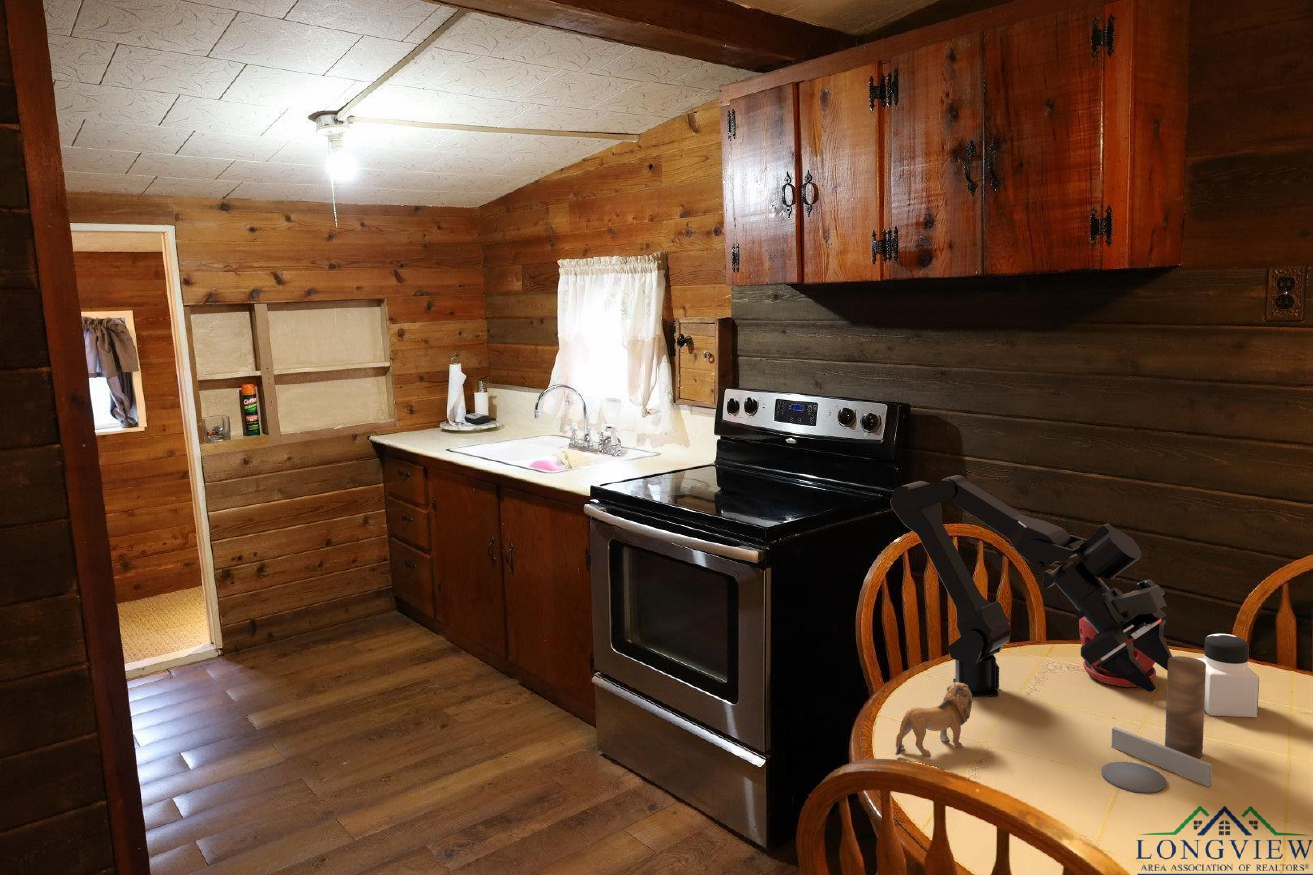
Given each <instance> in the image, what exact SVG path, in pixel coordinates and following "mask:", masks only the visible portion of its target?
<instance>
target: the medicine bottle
mask: <svg viewBox="0 0 1313 875" xmlns="http://www.w3.org/2000/svg"><path fill="white" fill-rule="evenodd" d="M1249 651H1250V645H1249V643H1248V641H1247V640H1246V639H1243V638H1241V637H1240V636H1236V635H1233V634H1227V633H1213V634H1210V635H1207V636H1206V637H1205V639H1204V651H1203V652H1204V654H1203V655H1204V656H1203V657H1202V658H1201V657H1200V658H1199V657H1194V658H1195V659H1198V660H1201V661H1203V662H1204V663H1205V664H1206V680H1205V705H1204V712H1205V713H1207V715H1208V716H1212V717H1228V718H1229V717H1232V718H1233V717H1234V718H1235V717H1236V718H1255V719H1256V718H1258V714H1259V691H1260V690H1259V689H1260V676H1259V675H1258V674H1257V673H1256V672H1255V671H1254V670H1252V669H1251V668H1250V667H1249V653H1250V652H1249Z"/></svg>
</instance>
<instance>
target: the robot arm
mask: <svg viewBox="0 0 1313 875" xmlns="http://www.w3.org/2000/svg"><path fill="white" fill-rule="evenodd" d="M946 501H948V502H950V503H952V504H954V505H955V506H957V507H958V508H960V509H961V510H963V511H965V512H966V513H968V514H969V515H971V516H972V517H973V518H975V519H977V520H979V521H980V522H981V523H983V524H985V525H986V526H988V527H989V528H991V529H992V530H993V531H996V532H997V533H999V534H1001V535H1002V536H1004V538H1006V539H1007V541H1009V542H1010V544H1011V546H1012V548H1013V549H1014V551H1015V552H1017V553H1018V555H1020V556H1021V557H1022V558H1024V559H1025V560H1026V561H1027V562H1028V563H1029V564H1031V565H1032V566H1034V567H1037V568H1045V567H1050V566H1052V565H1054V564H1056V563H1058V562H1063V563H1061V564H1060V565H1059V566H1057V567H1056V568H1055V569H1050V568H1049V569H1047V570H1045V571H1043V572H1042V576H1043V578H1042V584H1041V588H1042V589H1043V590H1047V589H1049V588H1050V587H1051V588H1052V587H1053V586H1055V585H1056V586H1057V587H1058V589H1060V590H1061V592H1062V593H1063V594H1064V595H1065V597H1066V598H1067V599H1068V600H1069V601H1070V602H1071V603H1072V605H1073V606H1074V607H1075V608H1076V609H1077V611H1078V612H1076V613H1075V614H1074V615H1075V616H1076V618H1078V620H1080V619H1081V618H1083V617H1085V619H1086V620H1087V621H1088V622H1089V623H1090V624H1091V626H1092V627H1093V628H1094V629H1095V630H1096V631H1097V633H1098V634H1096V635H1095V636H1094V637H1095V638H1093V639H1092V640H1091V641H1089V642H1088V643H1086V644H1085V645H1084V646H1082V645H1081V647H1080V657H1081V658H1082V660H1083V661H1084V660H1085V661H1086V663H1087V664H1088V665H1089V666H1090V665H1092V664H1093V663H1095V662H1096V661H1098V660H1099V659H1101V660H1102V662H1100V663H1099V664H1097V665H1096V667H1097V668H1102V669H1105V670H1107V671H1109V672H1111V673H1113V674H1115V675H1117V676H1119V677H1121V678H1123V679H1125V680H1127V681H1129V682H1131V683H1133V684H1135V685H1137V686H1136V687H1139V688H1141V689H1142V690H1144V691H1146V692H1148V693H1153V692H1154V691H1155V690H1156V689H1157V687H1156V686H1155V684H1154V682H1153V680H1152V681H1151V679H1150V678H1149V676H1148V675H1147V674H1146V672H1145V671H1144V669H1143V668H1142V667H1141V665H1140V664H1139V662H1138V661H1137V660H1136V658H1135V657H1134V655H1133V646H1134V647H1135V648H1136V649H1138V650H1139V651H1140V652H1142V653H1143V654H1145V655H1146V656H1147V657H1149V658H1150V659H1152V660H1153V661H1154V662H1155V663H1156V665H1158V666H1160V667H1161V668H1163V670H1166V671H1168V658H1170V657H1174V656H1173V655H1172V653H1171V650H1170V649H1169V647H1168V644H1167V642H1166V639H1165V637H1164V627H1165V624H1166V619H1163V618H1164V617H1166V616H1167V614H1166V613H1165V612H1164V611H1163V610H1162V609H1161V608H1165V607H1167V604H1166V601H1165V599H1164V595H1165V592H1166V591H1165V590H1164V589H1163V588H1161V587H1160V585H1159V584H1156V583H1155V582H1154V581H1153V580H1152V579H1151V578H1149V579H1146V580H1141V581H1139V582H1138V583H1137V584H1136V590H1133V591H1130V592H1127V593H1123V592H1122V591H1121V590H1120V589H1119V588H1118V587H1117V588H1116V587H1111V589H1110V587H1108V586H1107V585H1106V584H1105V582H1104V581H1103V580H1102V578H1104V579H1105V580H1106V579H1107V580H1113V579H1114V578H1115V577H1116V576H1118V575H1119V574H1120V573H1122V572H1123V571H1124V570H1126V569H1127V568H1128V567H1130V566H1131V565H1133V564H1134V563H1135V562H1137V561H1138V560H1140V559H1141V557H1142V551H1141V549H1140V546H1139V545H1138V544H1137V542H1135V540H1134V539H1133V538H1132V537H1131V536H1130V535H1129V536H1128V535H1127V534H1126V533H1124V532H1122V531H1121V530H1119V529H1116V528H1114V527H1113V526H1112V524H1110V523H1105V524H1103V525H1101V526H1100V527H1099V528H1098V529H1096V531H1095V532H1094V533H1093V535H1091V536H1089V537H1088V538H1087V539H1086V538H1083V537H1080V536H1075V535H1073V534H1070V533H1069V532H1068V531H1067V530H1066V529H1064V528H1062V527H1061V526H1058V525H1056V524H1053V523H1051V522H1048V521H1046V520H1043V519H1038V518H1035V517H1031V516H1027V515H1025V514H1023V513H1021V512H1019V511H1018V510H1016V509H1014V508H1013V507H1012V506H1009V505H1007V504H1006V503H1005V502H1003V501H1001V500H1000V499H998V498H996V497H994V496H993V495H991V494H989V493H988V492H986V491H985V490H983V489H981V488H980V487H978V486H976V485H975V484H973V483H972V482H970V481H969V480H968V479H967V478H966V477H964V476H963V475H957V474H956V475H952V476H947V477H944V478H943V479H941V480H939V481H936V482H932V483H930V482H926V481H923V480H919V481H915V482H911V483H907V484H903V485H900V486H898V487H896V488H895V489H894V490H893V491H892V493H891V498H890V506H891V508H892V510H893V512H894V513H895V515H897V517H898V519H899V520H900V521H901V522H902V524H903V525H905V526H906V527H907V528H908V529H910V530H911V531H913V533H915V534H916V535H917V537H918V539H919V541H920V543H921V544H922V547H923V548H924V550H925V552H926V554H927V556H928V558H929V559H930V561H931V564H932V565H933V566H934V569H935V571H936V573H937V574H938V576H939V578H940V580H941V582H942V583H943V585H944V587H945V589H946V592H947V593H948V596H949V597H950V599H951V601H952V602H953V605H954V607H955V611H956V612H955V613H956V627H957V631H958V632H959V635H960V637H959V638H957V639H956V640H954V641H953V642H952V643H951V644H949V645H948V647H947V649H948V652H949V655H950V659H952V660H955V678H953V679H952V682H953V683H955V682H959V683H964V684H966V685H968V688H969V690H970V691H971V693H972V697H974V696H977V697H978V696H980V697H982V696H983V697H998V696H999V691H998V690H999V689H1000V666H999V664H998V663H997V658H996V656H995V655H996V654H998V653H1000V652H1001V650H1002V647H1003V646H1004V645H1006V644H1007V643H1008V642H1009V640H1010V637H1011V634H1012V629H1011V626H1010V623H1011V619H1010V618H1009V617H1008V616H1007V615H1006V613H1005V612H1004V608H1003V607H1002V604H1001V603H1000V602H999V600H996V601H994V602H992V603H991V602H990V601H989V600H987V599H986V598H985V597H984V596H983V595H982V594H981V592H980V590H979V588H978V586H977V585H976V583H975V580H974V579H973V577H972V576H971V572H970V571H969V568H968V567H967V565H966V564H965V562H964V561H963V557H961V555H960V553H959V551H958V549H957V547H956V545H955V544H954V541H953V540H952V538H951V536H950V534H949V533H948V531H947V529H946V527H945V525H944V522H943V506H942V502H946ZM1077 556H1078V557H1079V558H1077V559H1076V561H1074V562H1073V561H1067V560H1070V559H1071V558H1075V557H1077ZM1160 619H1163V620H1162V622H1160V623H1159V624H1157V623H1156V622H1157V621H1158V620H1160ZM1127 638H1128V639H1131V638H1134V639H1135V640H1133V641H1131V642H1130V643H1128V644H1127V645H1126V644H1125V643H1124V642H1126V641H1127V640H1128V639H1127Z"/></svg>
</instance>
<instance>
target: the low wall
mask: <svg viewBox="0 0 1313 875" xmlns="http://www.w3.org/2000/svg"><path fill="white" fill-rule="evenodd" d="M1111 748H1112V749H1115V750H1117V751H1120V752H1122V753H1125V754H1128V755H1130V756H1133V757H1135V758H1138V759H1140V760H1142V761H1144V762H1147V763H1149V764H1152V765H1155V766H1157V767H1159V768H1162V769H1164V770H1166V771H1169V772H1171V773H1174V774H1176V775H1179V776H1181V777H1183V778H1186V779H1188V780H1191V781H1193V782H1196V783H1199V784H1200V785H1203V786H1206V787H1209V786H1212V773H1213V772H1212V770H1213V764H1212V763H1210V762H1207V761H1204V760H1202V759H1197V758H1194V757H1192V756H1189V755H1187V754H1184V753H1181V752H1179V751H1176V750H1174V749H1171V748H1169V747H1166V746H1165V745H1163V744H1160V743H1158V742H1155V741H1153V740H1151V739H1148V738H1145V737H1142V736H1140V735H1137V734H1135V733H1132V732H1130V731H1127V730H1125V729H1122V728H1120V727H1117V726H1114V727H1112V728H1111Z"/></svg>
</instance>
